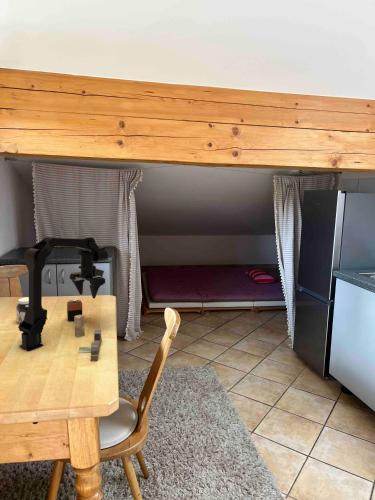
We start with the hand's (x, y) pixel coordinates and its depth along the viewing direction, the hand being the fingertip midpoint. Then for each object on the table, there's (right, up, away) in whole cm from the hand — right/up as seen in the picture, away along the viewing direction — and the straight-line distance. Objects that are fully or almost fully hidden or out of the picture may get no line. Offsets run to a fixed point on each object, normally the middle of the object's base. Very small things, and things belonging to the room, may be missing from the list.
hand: (87, 296), depth 158 cm
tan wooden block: (-1, -16, -9) cm, 18 cm away
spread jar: (-29, -13, +6) cm, 32 cm away
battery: (-9, -13, +10) cm, 19 cm away
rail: (+7, -18, -22) cm, 30 cm away
